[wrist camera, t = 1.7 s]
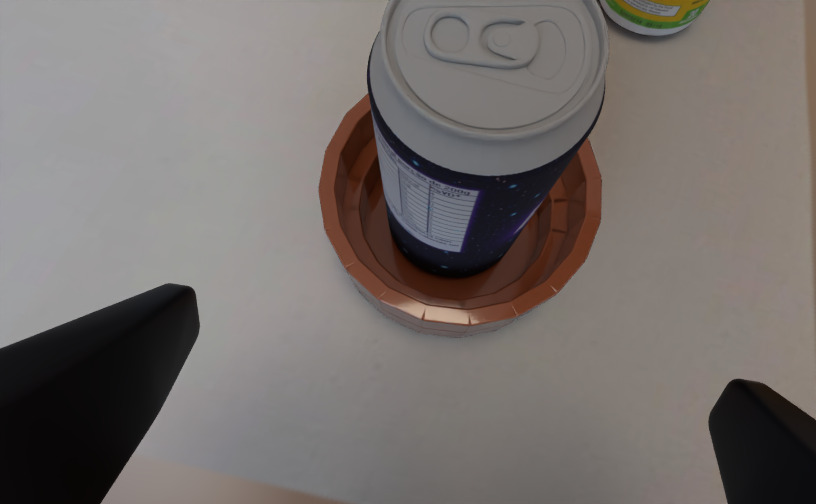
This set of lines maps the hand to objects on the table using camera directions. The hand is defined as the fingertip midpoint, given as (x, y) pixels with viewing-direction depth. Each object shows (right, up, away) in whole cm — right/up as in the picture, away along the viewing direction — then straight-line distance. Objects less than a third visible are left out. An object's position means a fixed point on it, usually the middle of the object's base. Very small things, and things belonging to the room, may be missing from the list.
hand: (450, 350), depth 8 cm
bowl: (+1, +3, +14) cm, 14 cm away
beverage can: (+1, +3, +14) cm, 14 cm away
